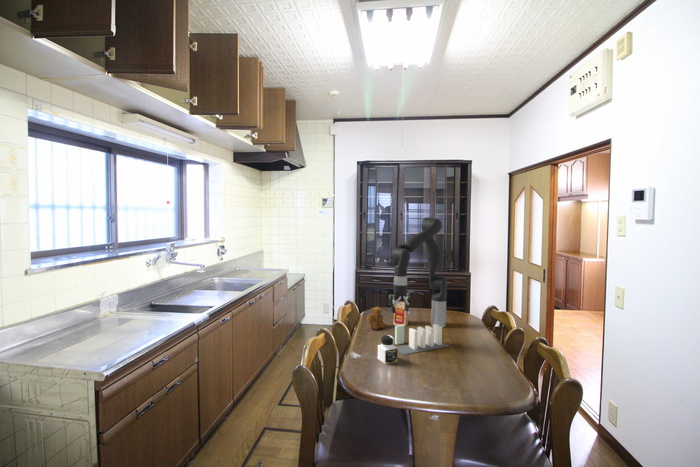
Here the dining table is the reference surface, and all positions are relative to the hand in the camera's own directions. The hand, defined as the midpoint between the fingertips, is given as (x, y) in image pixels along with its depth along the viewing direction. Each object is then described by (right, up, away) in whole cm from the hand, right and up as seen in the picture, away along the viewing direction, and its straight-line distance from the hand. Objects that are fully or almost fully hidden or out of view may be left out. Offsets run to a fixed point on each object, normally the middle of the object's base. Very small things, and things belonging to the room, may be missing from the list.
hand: (400, 312), depth 176 cm
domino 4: (+16, -18, -2) cm, 24 cm away
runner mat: (+11, -18, -5) cm, 22 cm away
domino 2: (+6, -18, -7) cm, 20 cm away
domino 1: (0, -18, +1) cm, 18 cm away
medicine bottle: (-10, -19, -22) cm, 30 cm away
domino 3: (+11, -18, -5) cm, 21 cm away
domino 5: (+21, -18, 0) cm, 27 cm away
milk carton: (+7, -17, +36) cm, 41 cm away
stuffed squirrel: (-11, -17, +27) cm, 34 cm away
